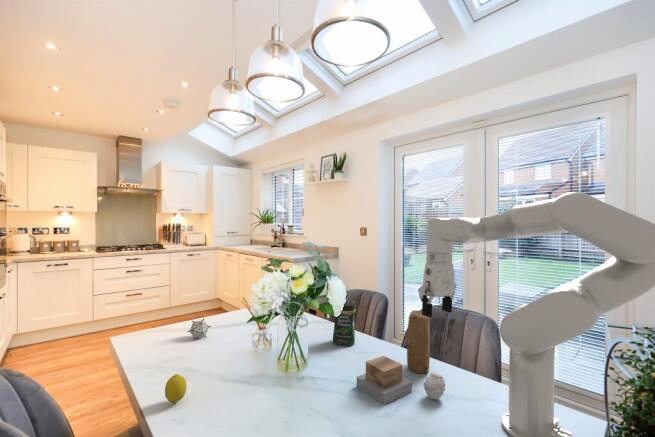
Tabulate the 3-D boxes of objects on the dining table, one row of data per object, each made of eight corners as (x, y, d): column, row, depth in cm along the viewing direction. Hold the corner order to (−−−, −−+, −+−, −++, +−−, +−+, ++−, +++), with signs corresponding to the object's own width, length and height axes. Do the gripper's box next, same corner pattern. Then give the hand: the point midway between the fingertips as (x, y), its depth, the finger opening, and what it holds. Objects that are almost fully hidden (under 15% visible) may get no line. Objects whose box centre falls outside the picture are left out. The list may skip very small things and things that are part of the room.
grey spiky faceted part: (194, 347, 136) (179, 330, 134) (206, 334, 143) (192, 317, 142) (206, 341, 132) (191, 323, 131) (218, 327, 140) (204, 310, 138)
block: (428, 376, 105) (428, 317, 105) (405, 372, 108) (406, 314, 108) (431, 363, 115) (431, 309, 115) (410, 359, 118) (411, 307, 118)
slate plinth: (411, 391, 96) (411, 382, 96) (384, 404, 88) (384, 394, 89) (383, 375, 105) (383, 367, 105) (356, 386, 98) (356, 376, 98)
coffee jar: (331, 345, 131) (331, 301, 131) (334, 338, 139) (335, 297, 139) (353, 347, 129) (354, 303, 129) (356, 340, 136) (356, 298, 137)
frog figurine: (450, 398, 92) (450, 374, 92) (437, 406, 88) (437, 382, 88) (431, 389, 97) (432, 367, 97) (418, 397, 92) (419, 373, 93)
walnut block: (402, 381, 96) (402, 364, 96) (384, 388, 91) (384, 371, 91) (383, 370, 102) (383, 355, 103) (365, 377, 98) (365, 361, 98)
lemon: (180, 395, 92) (181, 368, 92) (189, 402, 88) (190, 374, 88) (161, 403, 87) (161, 374, 88) (169, 411, 84) (170, 381, 84)
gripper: (431, 261, 87) (429, 321, 87) (466, 258, 97) (464, 312, 97) (410, 257, 93) (408, 314, 93) (445, 255, 103) (443, 306, 103)
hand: (437, 313), depth 95 cm, fingers open, 9 cm apart
